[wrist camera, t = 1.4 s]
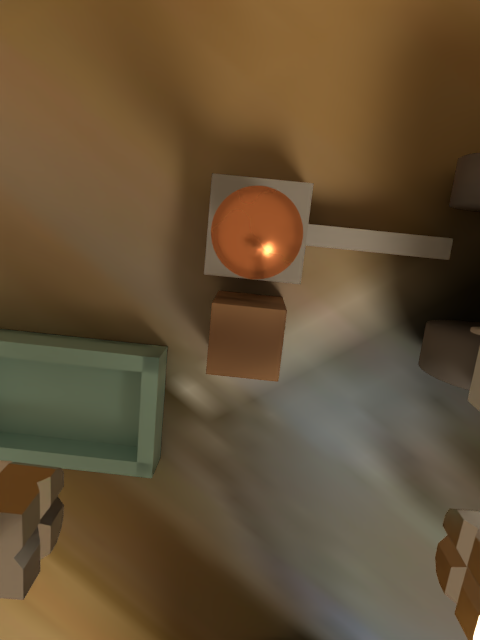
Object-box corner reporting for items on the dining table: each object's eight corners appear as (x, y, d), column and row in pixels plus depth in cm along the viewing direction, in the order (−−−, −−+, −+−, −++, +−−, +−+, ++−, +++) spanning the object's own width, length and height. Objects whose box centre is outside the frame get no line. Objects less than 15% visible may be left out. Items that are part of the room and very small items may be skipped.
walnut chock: (274, 357, 29) (278, 381, 25) (213, 351, 29) (205, 373, 25) (282, 296, 28) (286, 310, 24) (219, 290, 28) (212, 302, 24)
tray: (160, 458, 31) (151, 478, 28) (-26, 437, 31) (-50, 455, 29) (167, 346, 29) (159, 358, 27) (-30, 325, 29) (-56, 335, 27)
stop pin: (281, 259, 28) (297, 283, 17) (227, 254, 28) (207, 274, 17) (288, 203, 27) (308, 190, 16) (232, 197, 27) (215, 181, 16)
